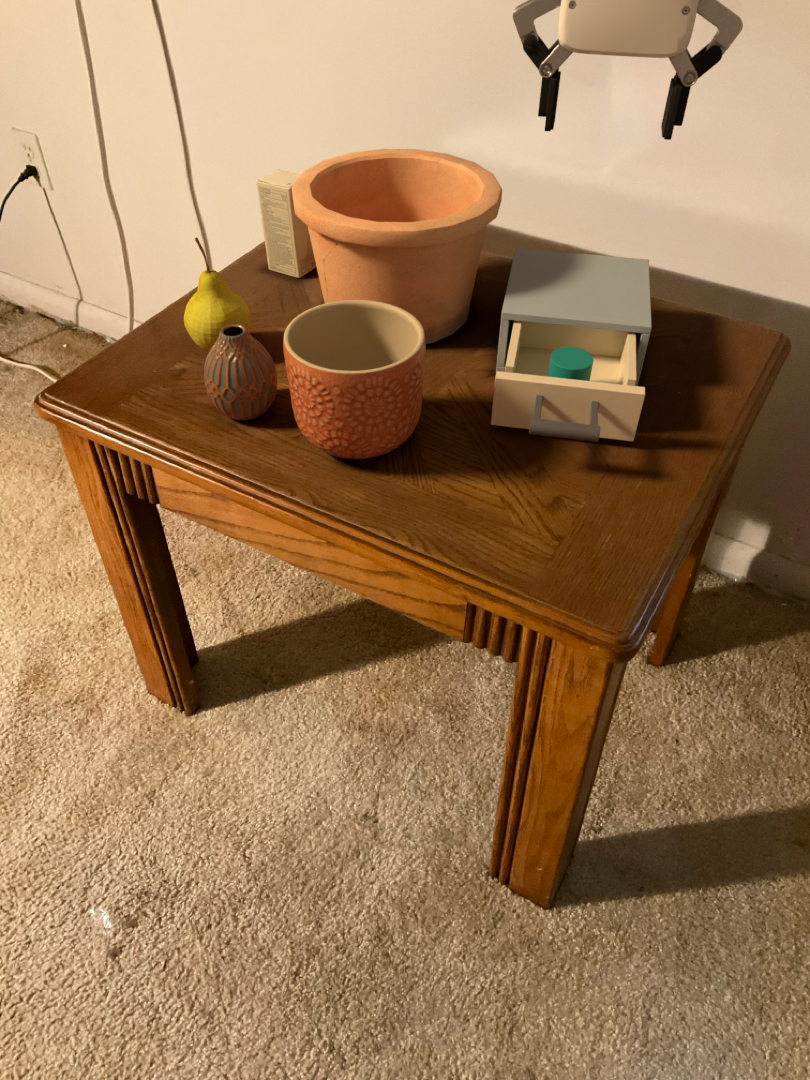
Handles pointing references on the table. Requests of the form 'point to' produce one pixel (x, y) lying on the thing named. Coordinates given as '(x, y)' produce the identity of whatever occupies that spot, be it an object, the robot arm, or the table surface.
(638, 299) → the grey cabinet
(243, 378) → the vase
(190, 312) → the fruit
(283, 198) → the box
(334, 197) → the pottery
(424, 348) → the planter
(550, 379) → the drawer
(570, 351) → the cylinder
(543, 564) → the table surface
